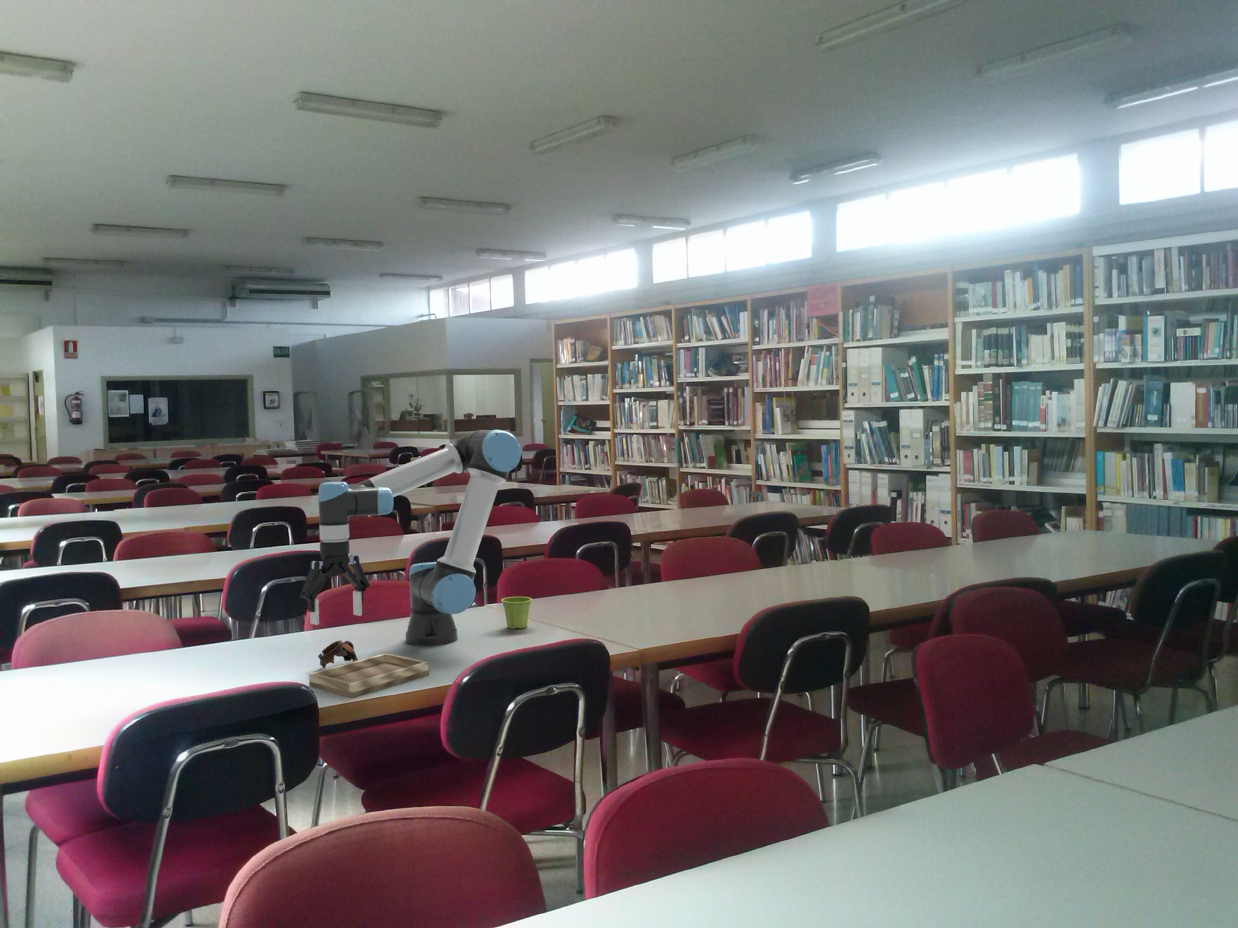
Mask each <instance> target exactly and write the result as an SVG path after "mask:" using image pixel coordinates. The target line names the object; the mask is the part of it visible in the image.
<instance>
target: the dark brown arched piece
mask: <svg viewBox="0 0 1238 928" xmlns="http://www.w3.org/2000/svg"><path fill="white" fill-rule="evenodd" d="M335 657H339V658H340V657H341V658H343V660H344V662H347V661H348V662H350V661H352V662H355V661H359V659H358V656H357V653H356V651H355V647H354V644H353V642H351V641H349V640H345V641H344V642H343V641H342V640H337V641H334V642H332V643H330V644H329V645H328V646H326V647H324V648H323V650H321V652H320V653H319V654H318V656H317V659H319V665H320V666H321V667H322V668H323V669H325V668H326V667H327V665H328V664H330V663H331V664H335Z"/></svg>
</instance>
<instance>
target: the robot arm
mask: <svg viewBox="0 0 1238 928" xmlns="http://www.w3.org/2000/svg"><path fill="white" fill-rule="evenodd" d="M521 457H522V448H521V445H520V443H519V441H518V439H517V438H516V436H515V435H513V434H512V433H511V432H509V431H505V430H501V429H493V430H491V429H490V430H489V429H479V430H478V429H477V430H474V431H472V432H470V433H467V434H465V435H463V436H461V437H459V438H457V439H455V440H453V441H450V442H448V443H446V444H445V446H444V448H442V449H440V450H437V451H435V452H431V453H429V454H427V455H424V456H422V457H419V458H417V459H414V460H412V461H410V462H407V463H405V464H403V465H400V466H397V467H395V468H392V469H390V470H387V471H385V472H383V473H379V474H378V475H374V476H372V477H370V478H368V479H365V480H363V481H361V482H357V483H350V484H348V483H347V482H345V481H328V482H327V481H326V482H322V483H320V484H319V487H318V499H317V502H318V515H319V516H318V517H319V520H318V521H319V524H318V525H319V526H318V527H319V540H321V541H320V542H319V554H320V556H321V560H320V561H315V560H311V561H310V562H309V563H310V564H309V571H308V573H307V576H306V579H305V582H304V584H303V587H302V589H301V592H300V595H299V597H300V598H302V599H306V602H307V611H308V612H309V615H310V616H309V619H310V623H309V624H311V625H316V626H317V625H318V626H319V625H320V606H319V604H320V603H319V599H317V597H318V595H319V594H320V592H321V590H322V589H323V588H324V586H325V584H326V583H327V581H328V579H330V578H331V577H336V576H337V575H338V576H342V575H343V576H344V577H345V579H346V580H347V581H348V582H349V583H350V585H351V586H352V587H353V588H354V590H353V591H352V607H353V609H352V613H353V615H354V616H359V617H361V616H362V615H363V607H362V606H363V605H362V603H364V592H366V591H367V588H368V589H369V587H370V583H369V581H368V578H367V576H366V574H365V572H364V569H363V567H362V566H361V562H360V557H359V555H354V554H351V555H350V556H349V554H350V541H349V540H348V539H349V538H350V521H349V520H350V519H349V518H351V517H354V518H355V517H365V516H366V517H369V516H370V517H371V516H379V517H380V516H381V515H388V514H390V513H392V511H393V509H394V497H397V496H399V495H402V494H404V493H407V492H409V491H411V490H415V489H416V488H417V489H418V488H419V487H421V486H424V485H426V484H428V483H430V482H433V481H435V480H438V479H440V478H444V477H446V476H449V475H450V474H453V473H457V474H461V473H463V472H466V471H468V473H469V477H470V478H469V479H468V480H469V481H468V483H467V486H466V490H465V492H464V496H463V499H462V502H461V504H460V508H459V511H458V513H457V517H456V519H455V521H454V522H455V523H454V524H453V528H452V532H451V534H450V537H449V540H448V543H447V546H446V549H445V552H444V555H443V556H440V558H437V560H436V561H433V562H431V561H430V562H421V563H415V564H412V565H410V567H409V574H408V579H409V597H410V598H409V602H410V618H409V621H408V625H407V629H406V632H405V642H406V644H409V645H414V646H435V645H437V646H438V645H444V644H448V643H452V642H455V641H456V640H458V628H457V627H456V624H455V620H454V617H453V615H457V614H458V615H459V614H460V613H463V612H464V611H467V609H469V608H470V606H471V605H472V604H473V602H474V600H475V597H476V593H477V592H476V591H477V590H476V586H475V583H474V579H475V577H476V574H477V570H476V568H475V567H474V563H475V560H476V557H477V554H478V551H479V547H480V544H481V542H482V539H483V536H484V533H485V529H486V527H487V523H488V520H489V517H490V514H491V511H492V510H493V509H492V508H493V505H494V503H495V500H496V496H497V493H498V491H499V487H500V485H502V484H504V483H506V482H507V480H508V477H509V473H510V471H512V470H513V469H515V468H516V467H517V466H518V465H519V463H520V461H521ZM349 565H350V566H351V569H352V570H351V569H350V567H349ZM352 571H353V572H352Z"/></svg>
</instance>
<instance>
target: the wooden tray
mask: <svg viewBox="0 0 1238 928" xmlns="http://www.w3.org/2000/svg"><path fill="white" fill-rule="evenodd" d="M429 675H430V662H429V661H426V660H425V661H424V660H420V659H415V658H411V657H406V656H402V655H396V654H392V653H386V652H385V653H382V654H379V655H375V656H370V657H367V658H364V659H358V661H355V662H353V661H352V662H348V663H344V664H339V665H336V666H334V667H329V668H326V669H325V668H324V669H322V670H318V671H315V672H314V671H313V672H310V673H308V680H309V681H308V683H309V687H310V688H315V689H318V690H320V691H321V690H322V691H326V692H329V693H333V694H336V693H337V694H336V695H340V694H341V696H344V697H347V696H348V698H351V697H353V698H356V697H359V696H362V694H363V695H365V693H366V694H369V693H372V692H375V691H379V690H382V689H386V688H389V687H392V686H395V685H399V684H402V682H403V683H406V682H409V681H412V680H416V679H418V678H419V679H420V678H422V677H426V676H429ZM358 695H359V696H358ZM355 696H356V697H355Z"/></svg>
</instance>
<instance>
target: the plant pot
mask: <svg viewBox="0 0 1238 928" xmlns="http://www.w3.org/2000/svg"><path fill="white" fill-rule="evenodd" d="M532 600H533V598H531V597H528V596H510V597H504V598H501V599H500V601H501V602H502V606H503V608H504V613H505V620H506V626H507V628H508V629H512V630H515V629H517V628H518V629H524V628H527V627H528V622H529V621H528V620H529V613H530V606H531V603H532Z"/></svg>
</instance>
